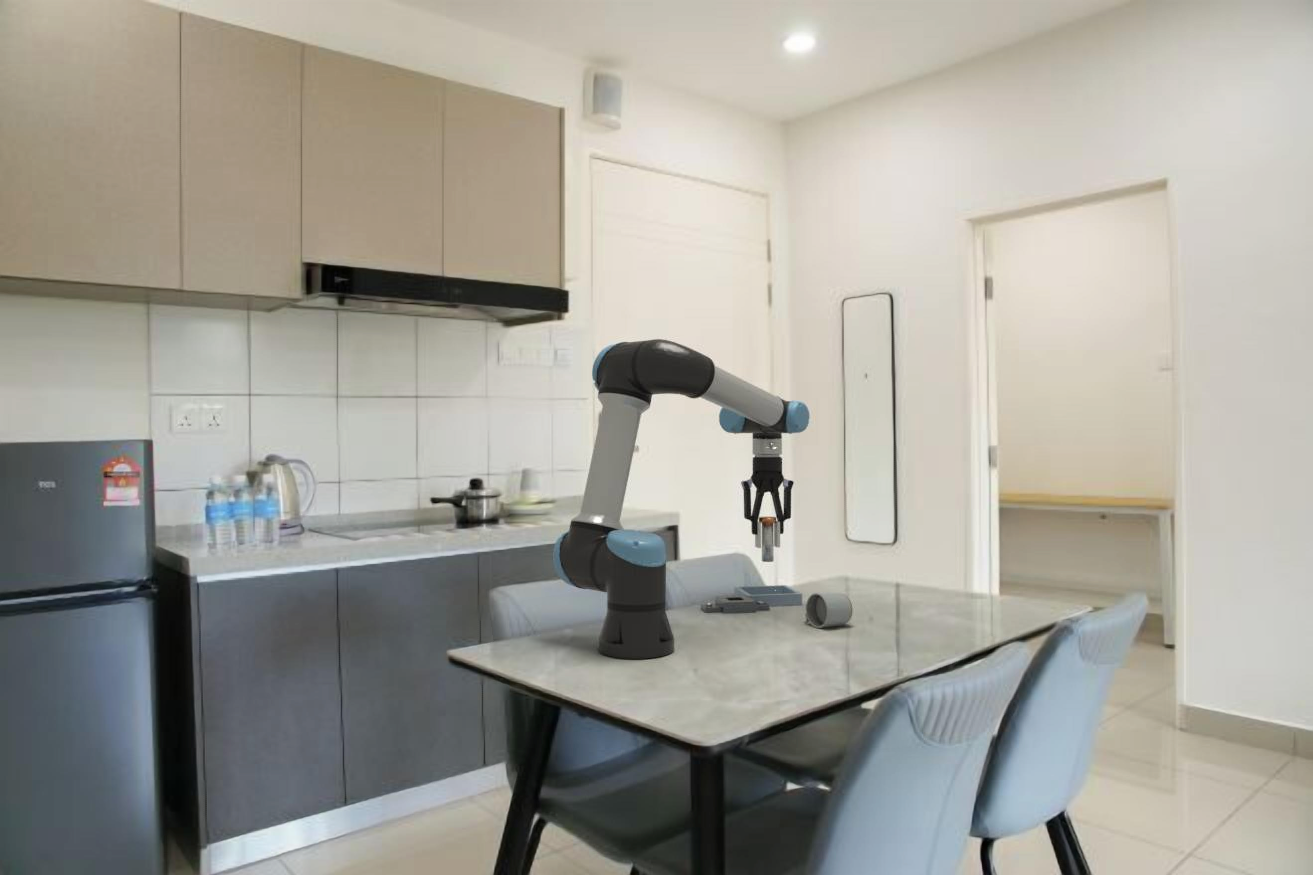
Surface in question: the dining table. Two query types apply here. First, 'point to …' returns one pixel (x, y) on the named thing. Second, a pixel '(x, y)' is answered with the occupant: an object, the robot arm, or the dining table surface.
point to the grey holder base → (734, 605)
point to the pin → (767, 538)
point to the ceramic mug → (828, 609)
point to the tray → (771, 594)
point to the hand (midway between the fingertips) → (767, 546)
